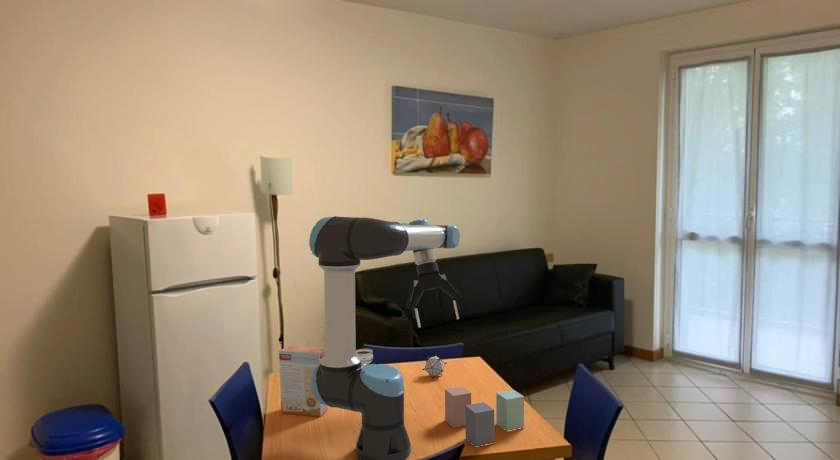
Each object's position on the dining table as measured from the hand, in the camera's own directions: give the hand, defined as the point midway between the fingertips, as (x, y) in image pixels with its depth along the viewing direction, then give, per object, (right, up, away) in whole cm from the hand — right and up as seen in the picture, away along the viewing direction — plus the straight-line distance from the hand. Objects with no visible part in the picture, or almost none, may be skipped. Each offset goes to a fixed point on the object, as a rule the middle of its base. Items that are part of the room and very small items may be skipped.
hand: (438, 323), depth 198 cm
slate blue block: (+11, -28, -34) cm, 45 cm away
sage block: (+21, -27, -24) cm, 42 cm away
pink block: (+5, -27, -21) cm, 35 cm away
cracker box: (-44, -27, -12) cm, 53 cm away
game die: (-1, -24, +20) cm, 31 cm away
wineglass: (-27, -25, +14) cm, 39 cm away
